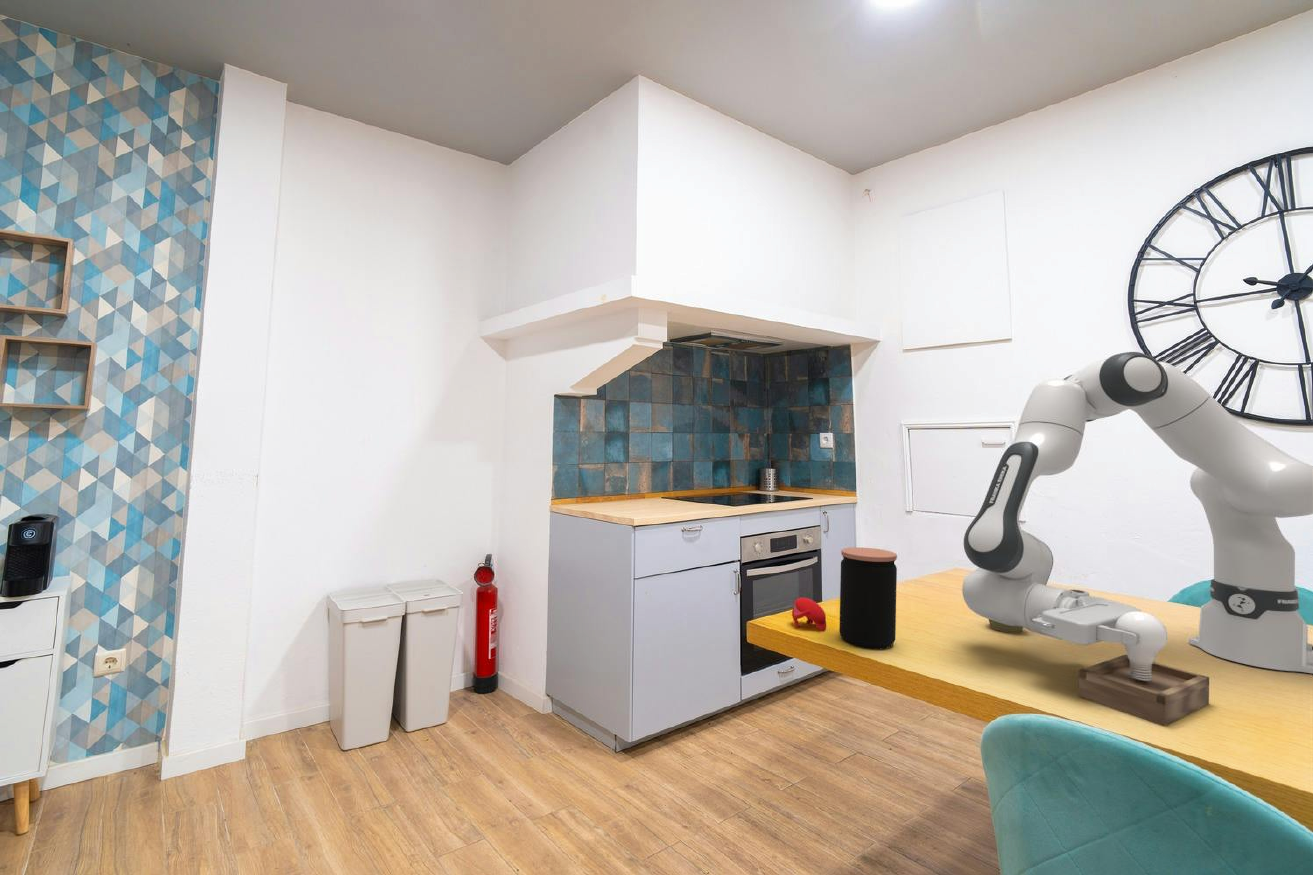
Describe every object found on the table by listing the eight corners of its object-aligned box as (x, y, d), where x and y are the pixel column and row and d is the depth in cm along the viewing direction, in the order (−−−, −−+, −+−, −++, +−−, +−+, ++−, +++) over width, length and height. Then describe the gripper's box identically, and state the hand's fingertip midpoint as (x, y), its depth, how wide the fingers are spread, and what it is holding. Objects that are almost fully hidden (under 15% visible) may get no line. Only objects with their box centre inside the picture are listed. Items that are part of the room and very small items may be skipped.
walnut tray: (1125, 678, 101) (1125, 654, 101) (1208, 703, 92) (1209, 677, 92) (1078, 696, 93) (1079, 669, 93) (1164, 725, 84) (1165, 696, 84)
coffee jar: (903, 641, 118) (905, 552, 118) (882, 654, 110) (884, 559, 110) (852, 629, 125) (854, 545, 125) (829, 640, 117) (831, 551, 117)
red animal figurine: (782, 610, 126) (801, 602, 122) (794, 596, 131) (813, 588, 127) (804, 642, 125) (825, 634, 121) (816, 627, 129) (836, 619, 125)
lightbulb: (1171, 693, 88) (1171, 620, 88) (1117, 683, 91) (1118, 613, 91) (1162, 679, 93) (1163, 610, 93) (1112, 670, 97) (1113, 604, 97)
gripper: (1023, 601, 99) (1120, 624, 87) (1084, 588, 109) (1178, 607, 97) (1022, 638, 99) (1119, 666, 87) (1083, 622, 109) (1177, 645, 97)
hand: (1151, 635), depth 92 cm, fingers open, 8 cm apart
